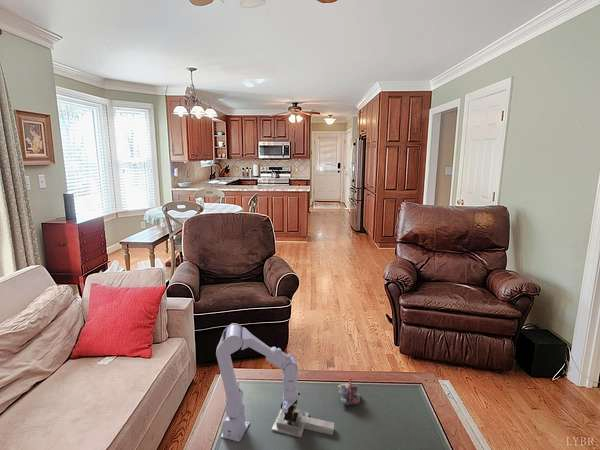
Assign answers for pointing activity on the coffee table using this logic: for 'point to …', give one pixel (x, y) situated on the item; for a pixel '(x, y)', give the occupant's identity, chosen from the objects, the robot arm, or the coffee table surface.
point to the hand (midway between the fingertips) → (290, 414)
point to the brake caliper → (349, 393)
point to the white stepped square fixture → (301, 424)
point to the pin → (293, 413)
